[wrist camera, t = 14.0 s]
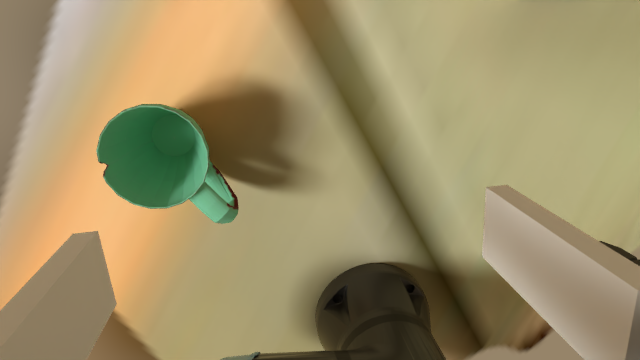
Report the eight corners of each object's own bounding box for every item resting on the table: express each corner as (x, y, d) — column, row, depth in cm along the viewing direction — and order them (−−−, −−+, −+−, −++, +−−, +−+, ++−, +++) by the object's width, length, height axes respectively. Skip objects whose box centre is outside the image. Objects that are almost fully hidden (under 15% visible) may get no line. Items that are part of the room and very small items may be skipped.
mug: (109, 135, 49) (72, 159, 39) (169, 71, 47) (146, 81, 38) (209, 219, 53) (198, 259, 44) (267, 164, 52) (268, 192, 42)
